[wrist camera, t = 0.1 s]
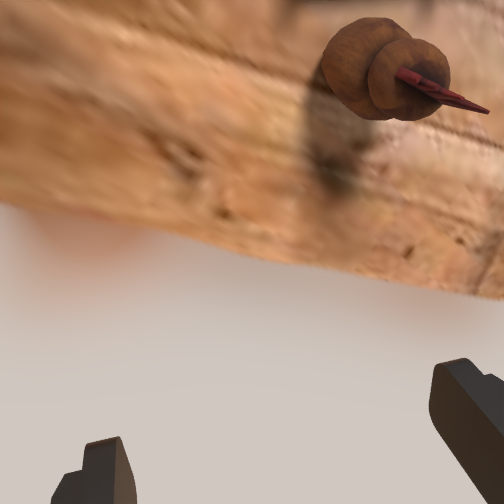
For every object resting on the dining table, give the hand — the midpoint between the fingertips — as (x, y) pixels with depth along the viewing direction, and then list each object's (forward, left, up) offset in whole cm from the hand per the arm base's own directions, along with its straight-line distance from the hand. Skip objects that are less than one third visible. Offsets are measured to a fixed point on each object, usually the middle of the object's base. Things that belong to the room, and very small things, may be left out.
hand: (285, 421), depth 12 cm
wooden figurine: (-4, +14, -29) cm, 33 cm away
